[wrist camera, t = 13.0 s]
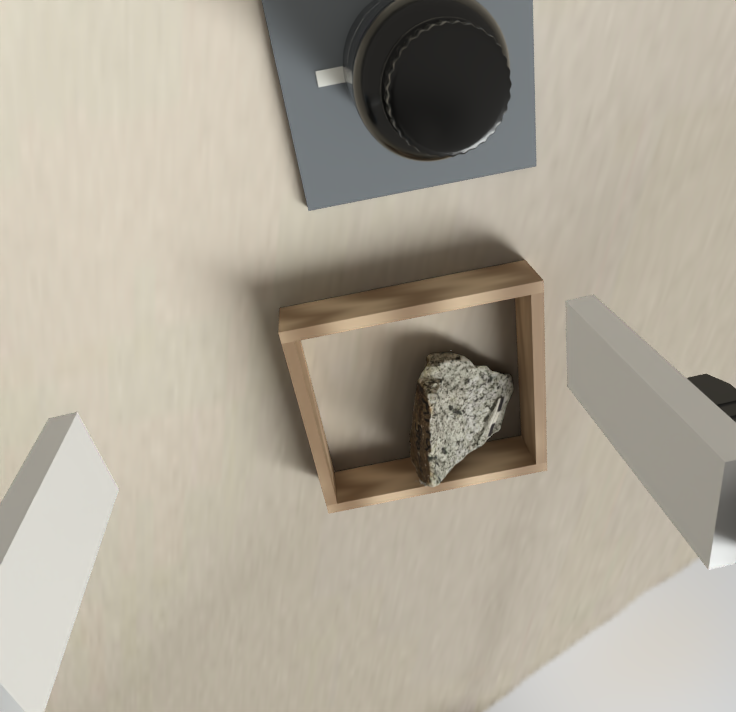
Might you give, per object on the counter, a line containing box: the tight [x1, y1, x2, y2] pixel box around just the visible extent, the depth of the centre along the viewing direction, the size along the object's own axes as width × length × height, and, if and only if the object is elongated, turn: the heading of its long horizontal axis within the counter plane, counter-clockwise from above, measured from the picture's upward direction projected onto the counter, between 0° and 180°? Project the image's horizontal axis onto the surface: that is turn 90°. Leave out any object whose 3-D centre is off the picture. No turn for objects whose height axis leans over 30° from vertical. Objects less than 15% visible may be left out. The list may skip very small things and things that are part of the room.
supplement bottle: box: [343, 0, 512, 162], centre depth 28 cm, size 7×7×12 cm
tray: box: [278, 260, 547, 513], centre depth 43 cm, size 17×16×4 cm
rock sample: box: [409, 352, 513, 487], centre depth 44 cm, size 10×8×9 cm
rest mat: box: [262, 0, 536, 211], centre depth 33 cm, size 14×14×1 cm
